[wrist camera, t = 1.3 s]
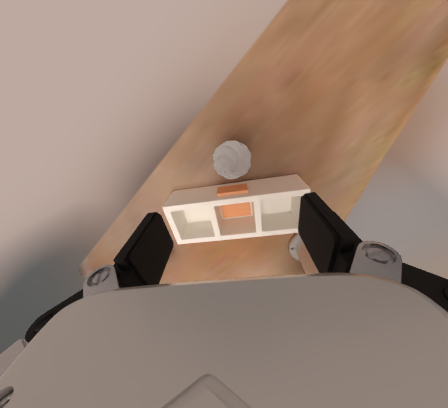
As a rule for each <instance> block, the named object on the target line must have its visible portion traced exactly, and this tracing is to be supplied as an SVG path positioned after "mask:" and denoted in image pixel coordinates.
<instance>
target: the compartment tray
mask: <svg viewBox="0 0 448 408" xmlns="http://www.w3.org/2000/svg"><path fill="white" fill-rule="evenodd" d="M310 190H311V189H310V188H309V186H308V185H307V184H306V183H305V182H304V181H303V180H302V179H301V178H300V177H299V176H298V175H297V174H294V175H287V176H279V177H272V178H265V179H257V180H250V181H243V182H235V183H228V184H221V185H213V186H206V187H199V188H191V189H184V190H177V191H173V192H172V193H171V195H170V196H169V198H168V199H167V201H166V202H165V204H164V205H163V207H162V208H163V210H164V213H165V215H166V217H167V220H168V222H169V224H170V227H171V229H172V231H173V234H174V236H175V239H176V241H177V243H178V244H186V243H197V242H207V241H217V240H228V239H238V238H248V237H259V236H269V235H279V234H290V233H298V222H299V211H300V200H301V196H304V194H305V193H310Z"/></svg>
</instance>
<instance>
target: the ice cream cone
mask: <svg viewBox="0 0 448 408" xmlns="http://www.w3.org/2000/svg"><path fill="white" fill-rule="evenodd" d="M213 160H214V169H215V170H216V171H217V173H218V174H219V175H223V176H224V177H225V178H227V179H238V178H239V177H240V176H242V175H244V174H246V173H247V171H248V170H249V168H250V166H251V153H250V151H249V150H248V148H247V146H246V145H244V144H242V143H240V142H238V141H236V140H235V141H233V140H231V141H225V142H224V143H222V144H221V145H220V146H219V147H218V148H216V150H215V152H214V154H213Z"/></svg>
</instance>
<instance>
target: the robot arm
mask: <svg viewBox="0 0 448 408" xmlns="http://www.w3.org/2000/svg"><path fill="white" fill-rule="evenodd" d="M172 248H173V241H172V239H171V236H170V234H169V232H168V230H167V227H166V225H165V223H164V221H163V218H162V216H161V215H160V214H158V213H157V212H153V213H148V214H147V215H146V216H145V218H144V219H143V220H142V222H141V223H140V224H139V226H138V227H137V229H136V230H135V231H134V233H133V234H132V235H131V237H130V238H129V239H128V241H127V242H126V244H125V245H124V246H123V248H122V249H121V250H120V252H119V253H118V254H117V256H116V257H115V259H114V260H113V261H114V262H115V264H114V265H104V266H102V267H99V268H98V269H96V270H94V271H93V272H92V273H91V274H90V275H89V276H88V277H87V278H86V280H85V281H84V285H83V289H82V290H81V291H79V292H77V293H76V294H74V295H73V296H71V297H69V298H68V299H67V300H65V301H63V302H61V303H60V304H59V305H57V306H55V307H54V308H52V309H51V310H49V311H47V312H46V313H44V314H43V315H41V316H40V317H39V318H37V320H35V322H34V323H33V324H32V325H31V327H30V328H29V329H28V331H27V332H26V335H25V339H24V340H22V339H19V340H18V341H16V342H15V343H14V344H13V345H11V346H10V347H9V348H8V349H7V350H5V351H4V352H3V353H2V354H0V408H448V279H445V278H442V277H440V276H437V275H434V274H432V273H429V272H426V271H424V270H421V269H418V268H416V267H413V266H410V265H408V264H405V263H402V259H401V256H400V255H399V253H398V252H397V251H396V250H394V249H393V248H391V247H389V246H388V245H385V244H383V243H380V242H375V241H364V242H363V241H362V240H361V239H360V238H359V237H358V236H357V235H356V234H355V233H354V232H353V231H352V230H351V229H350V228H349V227H348V226H347V225H346V223H345V222H344V221H343V220H342V219H341V218H340V217H339V216H338V215H337V214H336V213H335V212H333V211H332V210H331V209H330V208H329V207H328V206H327V205H326V203H325V202H324V201H323V200H322V199H321V198H320V197H319V196H318V195H317V194H316V193H315V192H312V193H305V194H304V196H301V200H300V211H299V222H298V233H297V234H295V235H294V236H293V237H292V239H291V240H290V242H289V247H288V248H289V252H290V254H291V256H292V257H293V258H295V259H296V260H298V261H300V262H301V265H302V267H303V269H304V271H305V274H292V275H278V276H263V277H248V278H235V279H221V280H207V281H194V282H181V283H169V284H159V282H160V279H161V277H162V274H163V271H164V269H165V266H166V264H167V261H168V259H169V256H170V253H171V251H172Z"/></svg>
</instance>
